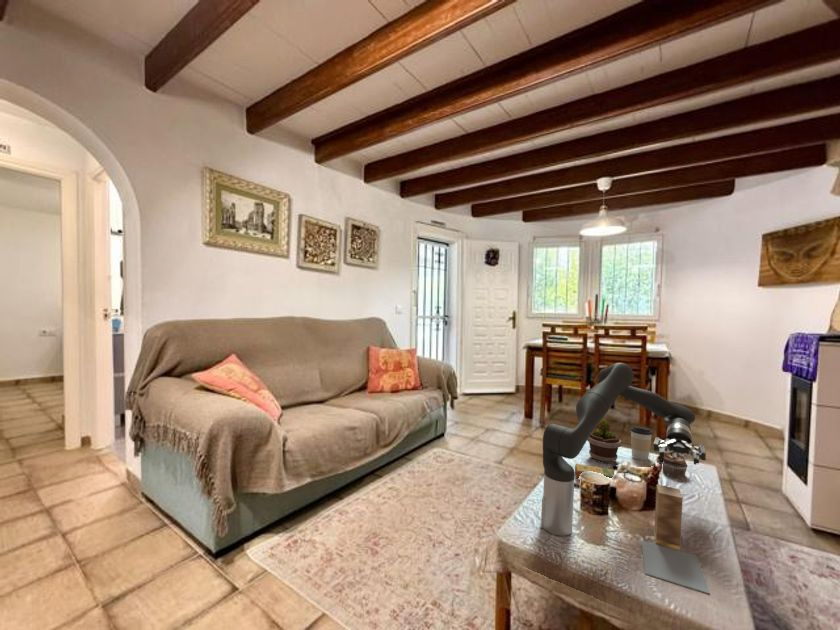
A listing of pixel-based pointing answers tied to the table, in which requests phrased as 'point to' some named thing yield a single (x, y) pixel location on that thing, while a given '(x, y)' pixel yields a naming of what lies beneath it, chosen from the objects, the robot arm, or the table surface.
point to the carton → (581, 468)
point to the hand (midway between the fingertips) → (678, 458)
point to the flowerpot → (604, 443)
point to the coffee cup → (640, 442)
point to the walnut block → (668, 517)
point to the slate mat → (673, 566)
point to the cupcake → (674, 464)
